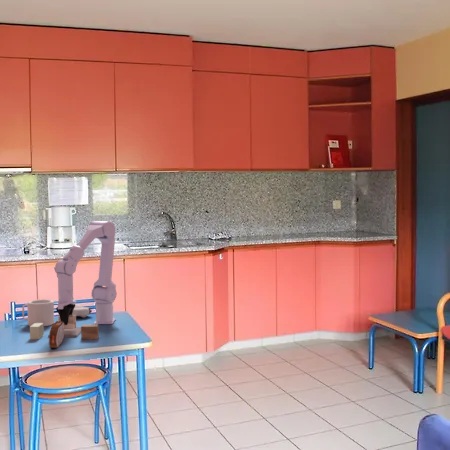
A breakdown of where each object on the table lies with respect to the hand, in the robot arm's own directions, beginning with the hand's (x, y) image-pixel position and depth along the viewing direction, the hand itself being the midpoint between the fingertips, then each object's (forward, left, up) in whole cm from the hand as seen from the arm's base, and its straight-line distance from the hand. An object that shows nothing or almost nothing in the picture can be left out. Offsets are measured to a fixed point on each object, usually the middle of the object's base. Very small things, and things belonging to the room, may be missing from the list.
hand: (66, 323), depth 232 cm
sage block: (+6, -10, -4) cm, 12 cm away
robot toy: (-32, -2, -4) cm, 32 cm away
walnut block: (+8, +11, -4) cm, 14 cm away
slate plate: (0, 0, -4) cm, 4 cm away
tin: (+18, +1, -4) cm, 19 cm away
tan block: (0, 0, -2) cm, 2 cm away
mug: (-16, -16, -4) cm, 23 cm away
